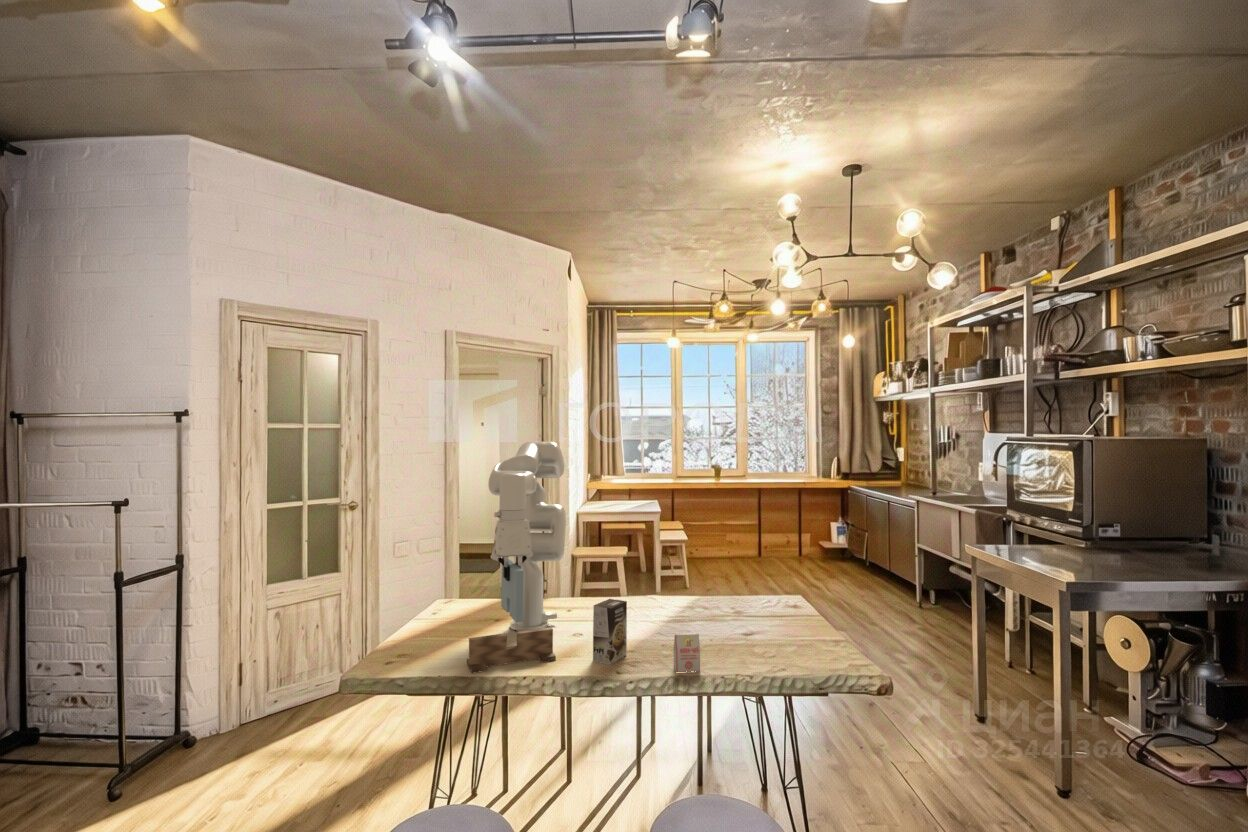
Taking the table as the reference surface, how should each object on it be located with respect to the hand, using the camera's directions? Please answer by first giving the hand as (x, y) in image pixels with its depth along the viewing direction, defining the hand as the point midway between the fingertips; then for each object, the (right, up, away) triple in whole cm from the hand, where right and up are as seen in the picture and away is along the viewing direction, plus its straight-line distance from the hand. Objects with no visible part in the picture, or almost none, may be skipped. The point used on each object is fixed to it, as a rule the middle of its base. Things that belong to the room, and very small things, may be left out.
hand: (511, 579), depth 176 cm
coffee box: (+28, -24, +3) cm, 37 cm away
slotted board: (0, -24, 0) cm, 24 cm away
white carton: (+50, -24, -7) cm, 56 cm away
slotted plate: (0, -10, 0) cm, 10 cm away
